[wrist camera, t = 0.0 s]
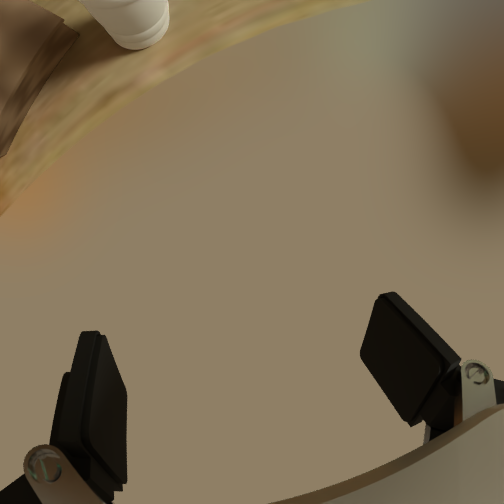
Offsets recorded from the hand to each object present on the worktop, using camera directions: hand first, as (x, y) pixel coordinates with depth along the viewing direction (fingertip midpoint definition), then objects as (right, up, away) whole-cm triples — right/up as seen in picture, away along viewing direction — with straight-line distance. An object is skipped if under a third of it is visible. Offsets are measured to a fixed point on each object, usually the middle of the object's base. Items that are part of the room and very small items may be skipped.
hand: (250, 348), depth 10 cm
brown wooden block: (-33, +27, +13) cm, 45 cm away
